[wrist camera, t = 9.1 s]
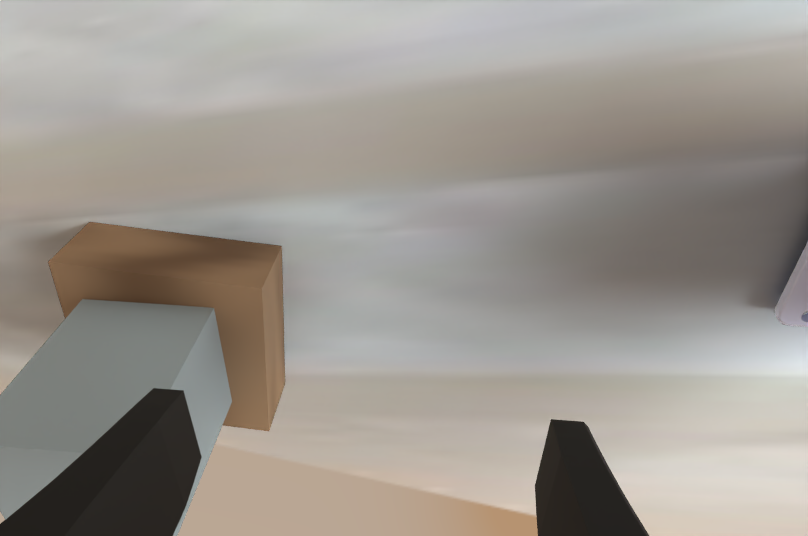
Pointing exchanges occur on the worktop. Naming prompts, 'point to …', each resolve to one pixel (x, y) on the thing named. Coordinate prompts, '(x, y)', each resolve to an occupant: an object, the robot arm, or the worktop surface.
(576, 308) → the worktop surface
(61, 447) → the slate block
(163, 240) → the walnut plinth
